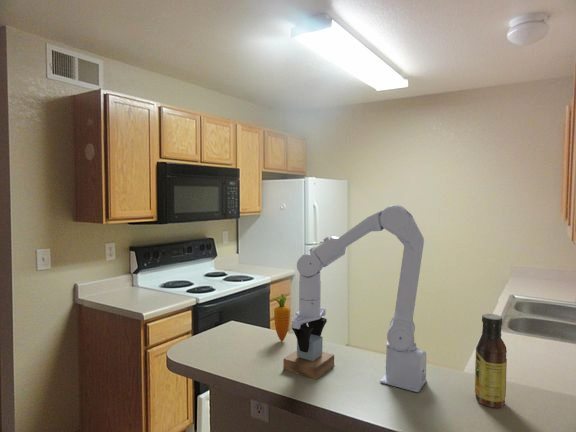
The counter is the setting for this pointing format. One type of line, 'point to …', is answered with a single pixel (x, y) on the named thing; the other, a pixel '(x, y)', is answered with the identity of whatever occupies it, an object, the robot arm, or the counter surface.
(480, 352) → the sauce bottle
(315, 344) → the slate-blue cube
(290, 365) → the walnut base
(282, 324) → the carrot
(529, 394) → the counter surface
